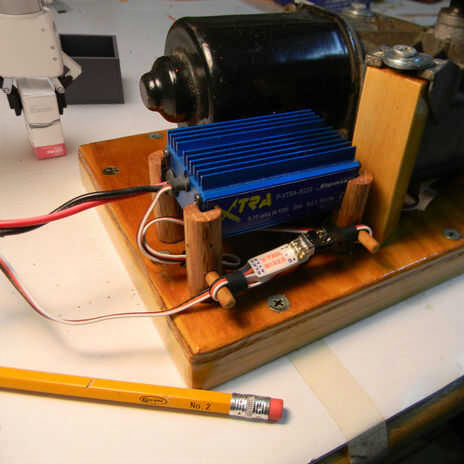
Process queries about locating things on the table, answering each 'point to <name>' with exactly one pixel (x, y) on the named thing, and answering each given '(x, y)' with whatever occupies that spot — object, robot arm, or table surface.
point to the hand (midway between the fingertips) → (40, 111)
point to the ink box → (41, 116)
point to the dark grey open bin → (93, 69)
